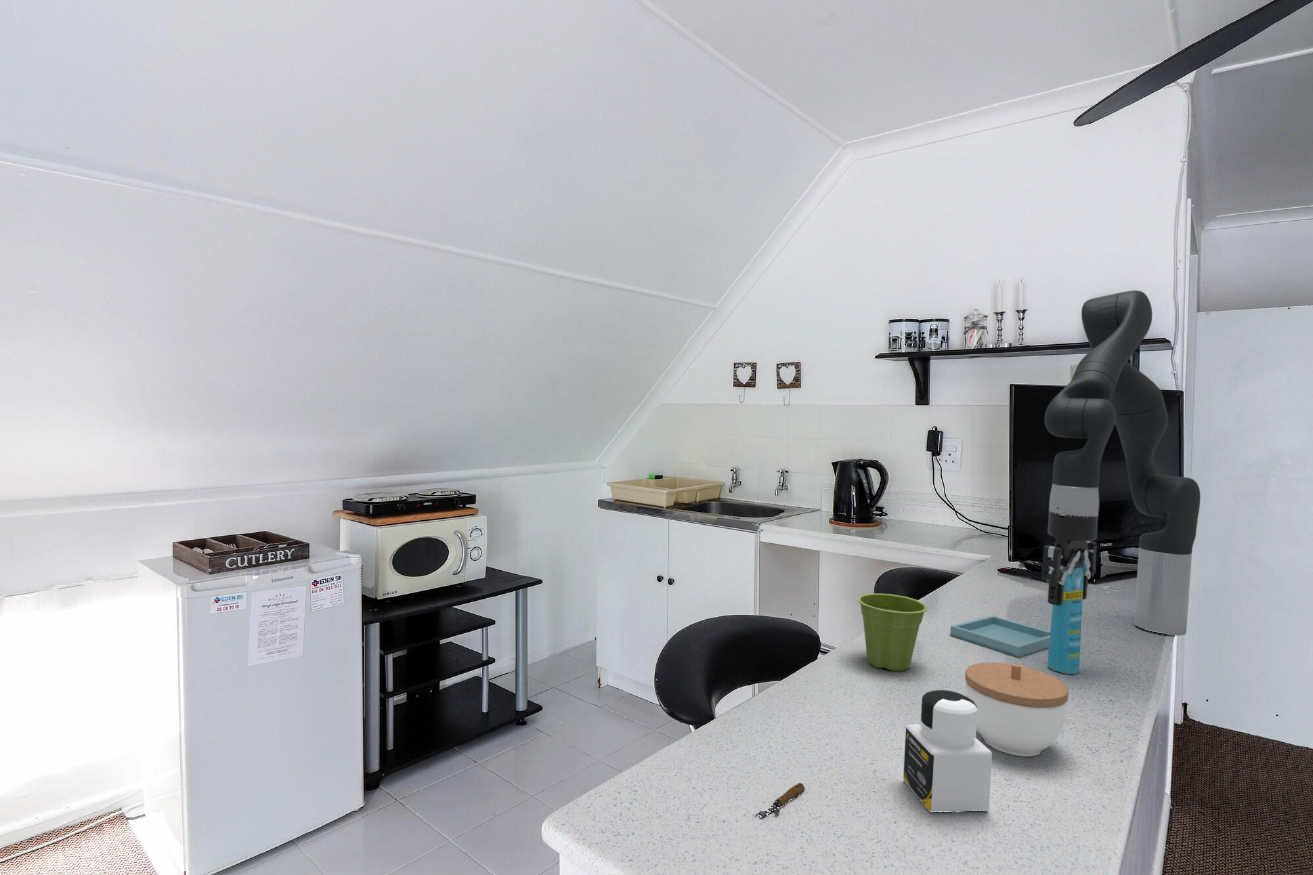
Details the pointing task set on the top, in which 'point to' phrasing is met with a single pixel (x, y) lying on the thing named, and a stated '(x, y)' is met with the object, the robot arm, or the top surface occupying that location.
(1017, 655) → the tray
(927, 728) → the medicine bottle
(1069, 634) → the tube
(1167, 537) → the robot arm
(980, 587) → the top surface
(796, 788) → the can opener
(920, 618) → the plant pot
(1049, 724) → the lidded bowl
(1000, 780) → the top surface
